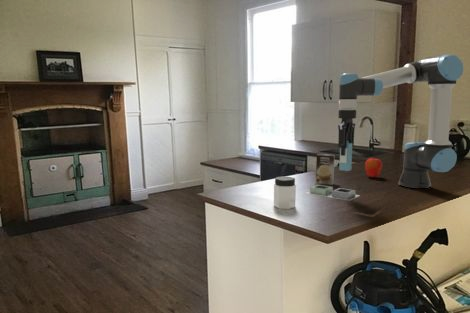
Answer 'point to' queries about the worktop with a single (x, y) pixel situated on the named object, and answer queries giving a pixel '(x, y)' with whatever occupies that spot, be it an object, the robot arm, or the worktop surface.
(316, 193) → the panel
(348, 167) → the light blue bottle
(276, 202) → the jar
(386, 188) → the worktop surface
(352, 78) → the robot arm
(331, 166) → the coffee box
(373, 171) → the apple
